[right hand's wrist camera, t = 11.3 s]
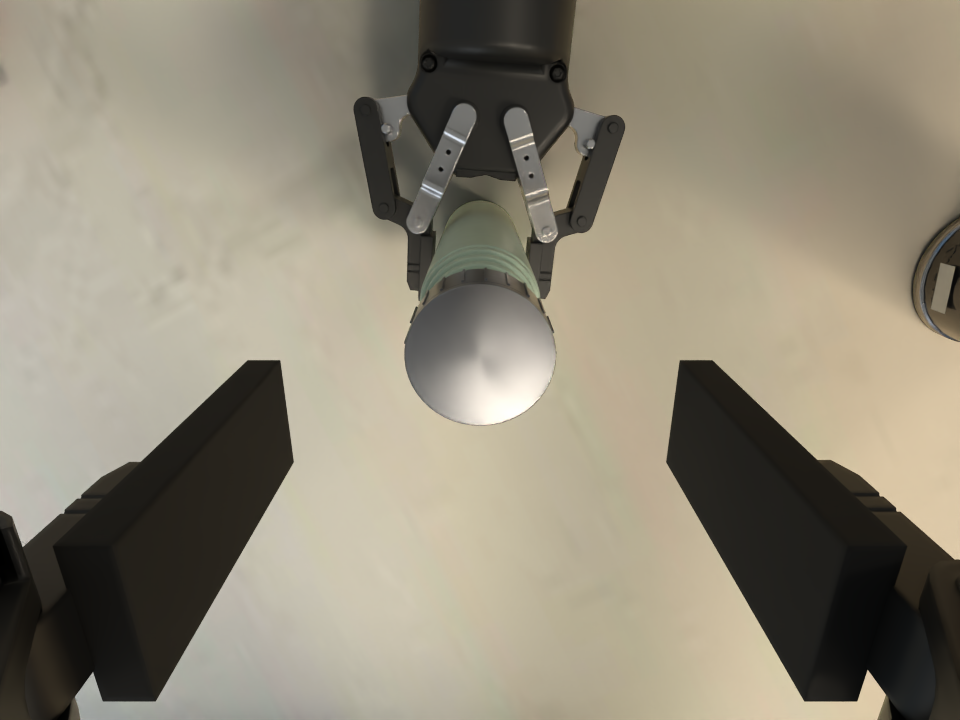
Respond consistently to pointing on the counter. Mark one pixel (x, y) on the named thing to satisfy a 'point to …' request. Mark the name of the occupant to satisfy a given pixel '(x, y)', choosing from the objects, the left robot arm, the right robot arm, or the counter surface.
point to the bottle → (480, 246)
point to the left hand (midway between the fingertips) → (476, 300)
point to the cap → (480, 347)
